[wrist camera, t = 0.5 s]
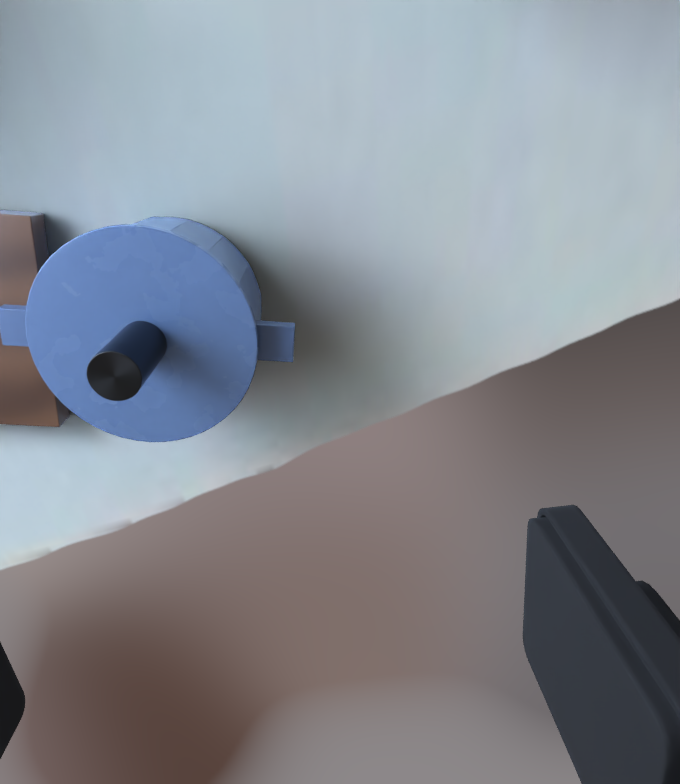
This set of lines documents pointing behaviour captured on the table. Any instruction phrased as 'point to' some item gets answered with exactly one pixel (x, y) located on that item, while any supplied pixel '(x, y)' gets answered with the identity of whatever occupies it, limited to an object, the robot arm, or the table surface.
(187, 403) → the lid
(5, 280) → the board
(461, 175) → the table surface
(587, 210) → the table surface
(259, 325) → the pot
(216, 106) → the table surface
